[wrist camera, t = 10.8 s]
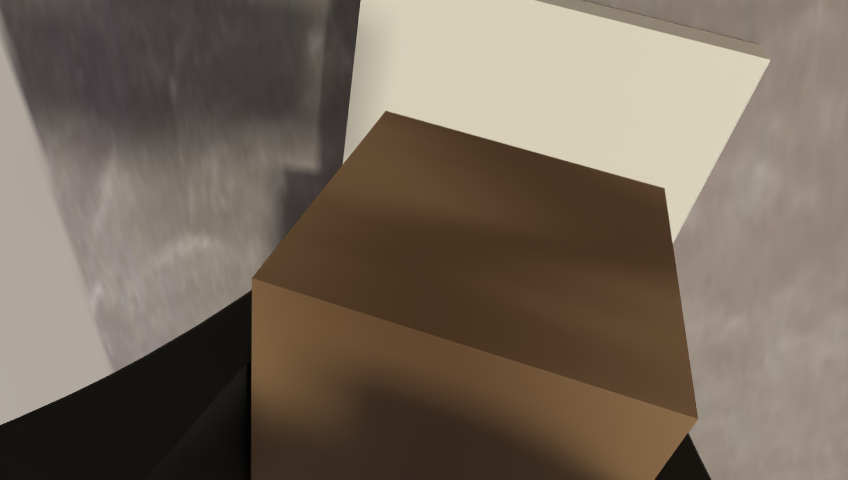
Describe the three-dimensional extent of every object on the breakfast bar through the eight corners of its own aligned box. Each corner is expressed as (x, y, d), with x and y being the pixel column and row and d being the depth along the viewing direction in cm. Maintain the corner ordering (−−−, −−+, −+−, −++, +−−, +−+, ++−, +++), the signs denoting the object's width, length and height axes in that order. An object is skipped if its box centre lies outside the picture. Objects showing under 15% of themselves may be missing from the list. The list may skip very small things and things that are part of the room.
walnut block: (665, 187, 9) (697, 418, 6) (571, 380, 12) (553, 619, 8) (385, 111, 9) (251, 278, 6) (356, 312, 12) (250, 510, 9)
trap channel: (760, 45, 15) (793, 92, 12) (540, 472, 26) (532, 547, 24) (379, -51, 16) (332, -26, 13) (325, 401, 27) (293, 464, 25)
